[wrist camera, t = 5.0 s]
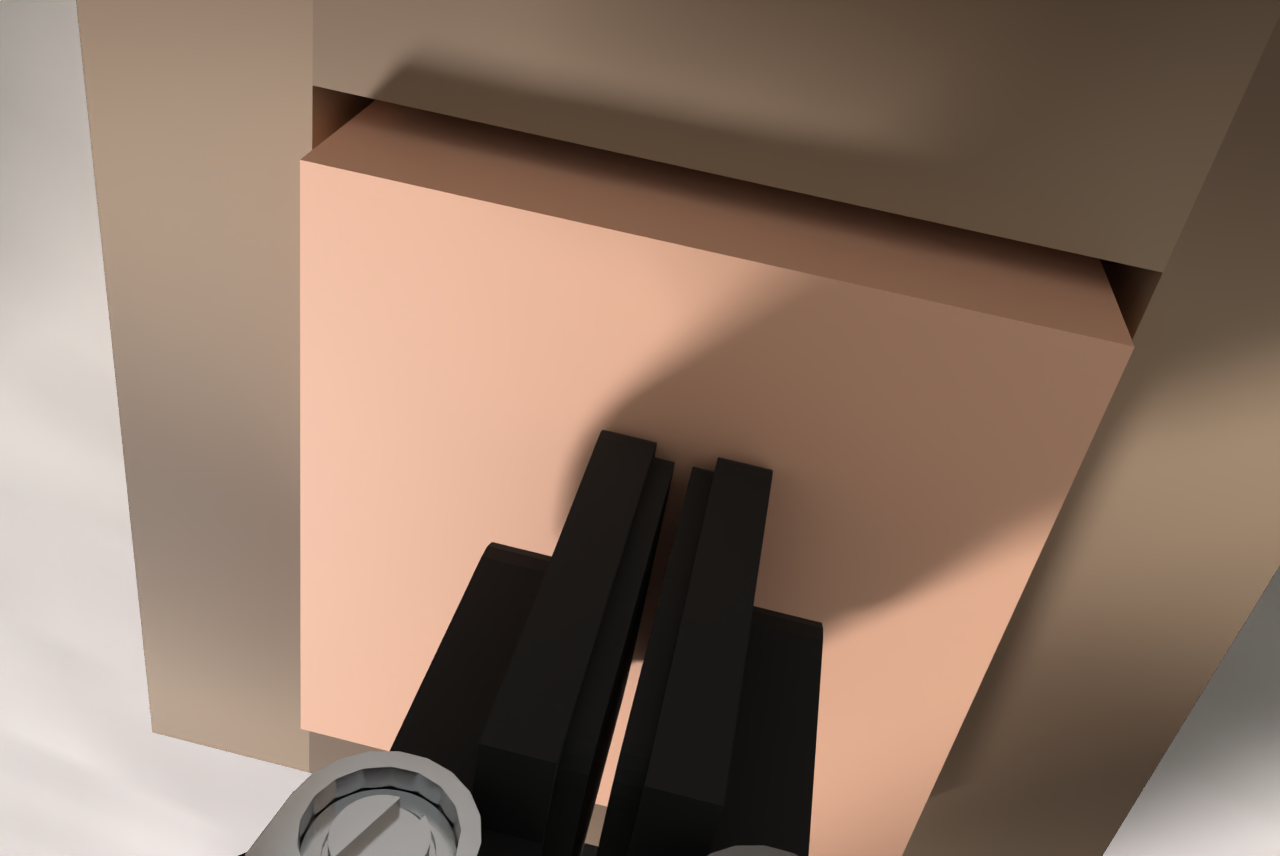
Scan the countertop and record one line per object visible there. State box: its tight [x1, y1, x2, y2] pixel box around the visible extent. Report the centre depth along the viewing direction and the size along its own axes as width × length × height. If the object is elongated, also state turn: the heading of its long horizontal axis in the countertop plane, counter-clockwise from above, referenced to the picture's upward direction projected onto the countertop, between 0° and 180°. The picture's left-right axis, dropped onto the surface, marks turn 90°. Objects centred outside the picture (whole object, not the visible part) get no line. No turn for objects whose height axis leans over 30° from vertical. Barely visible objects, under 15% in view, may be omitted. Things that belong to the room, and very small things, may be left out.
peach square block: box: [300, 100, 1135, 856], centre depth 13 cm, size 7×7×5 cm
